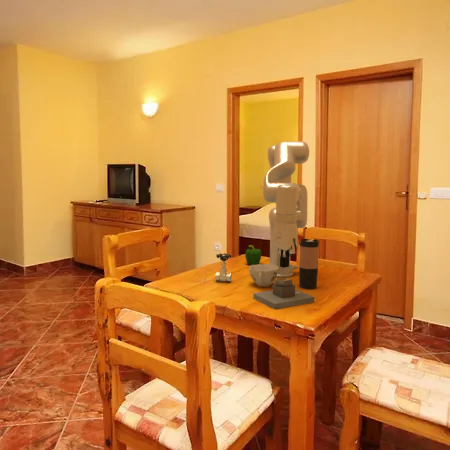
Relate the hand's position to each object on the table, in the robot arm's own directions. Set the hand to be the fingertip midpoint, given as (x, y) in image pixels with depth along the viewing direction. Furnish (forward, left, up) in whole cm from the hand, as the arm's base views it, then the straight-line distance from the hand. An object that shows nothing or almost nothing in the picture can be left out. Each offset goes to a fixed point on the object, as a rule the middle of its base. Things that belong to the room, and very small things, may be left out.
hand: (284, 266), depth 154 cm
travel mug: (-20, -9, -13) cm, 25 cm away
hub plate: (0, +1, -13) cm, 13 cm away
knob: (0, 0, -11) cm, 11 cm away
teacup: (-4, -19, -13) cm, 24 cm away
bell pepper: (-22, -55, -13) cm, 61 cm away
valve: (+8, -32, -13) cm, 36 cm away
